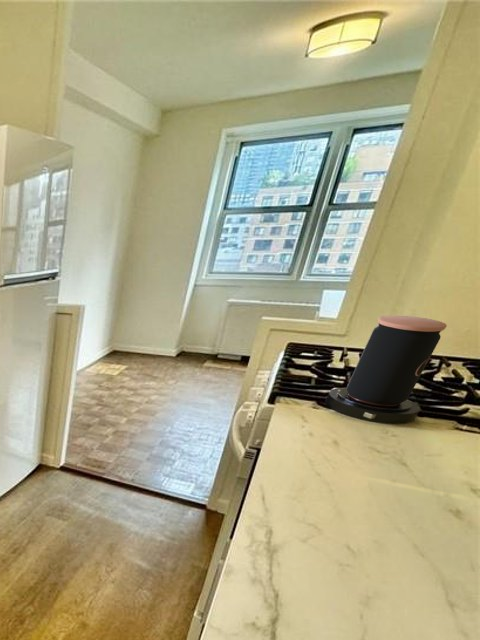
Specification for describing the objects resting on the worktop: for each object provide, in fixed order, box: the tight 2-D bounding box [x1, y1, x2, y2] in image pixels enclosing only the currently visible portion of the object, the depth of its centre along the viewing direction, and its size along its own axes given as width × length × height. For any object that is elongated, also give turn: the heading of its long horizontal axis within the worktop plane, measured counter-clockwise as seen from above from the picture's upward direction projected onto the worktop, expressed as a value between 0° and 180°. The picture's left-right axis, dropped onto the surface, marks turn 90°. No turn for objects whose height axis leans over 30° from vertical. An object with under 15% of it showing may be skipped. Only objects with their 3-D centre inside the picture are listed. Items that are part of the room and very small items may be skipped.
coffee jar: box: [346, 315, 448, 405], centre depth 110 cm, size 11×11×18 cm
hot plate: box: [324, 387, 421, 425], centre depth 115 cm, size 16×16×3 cm
